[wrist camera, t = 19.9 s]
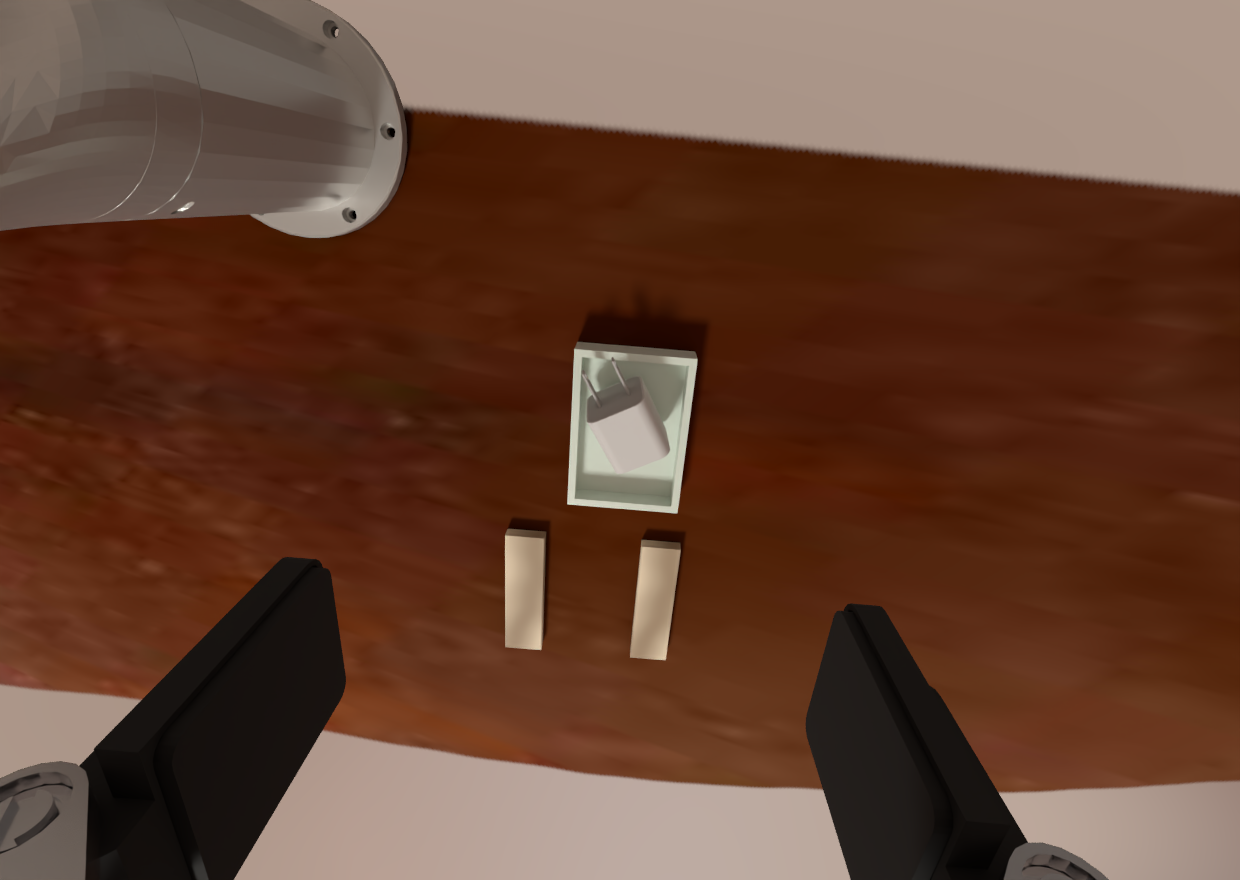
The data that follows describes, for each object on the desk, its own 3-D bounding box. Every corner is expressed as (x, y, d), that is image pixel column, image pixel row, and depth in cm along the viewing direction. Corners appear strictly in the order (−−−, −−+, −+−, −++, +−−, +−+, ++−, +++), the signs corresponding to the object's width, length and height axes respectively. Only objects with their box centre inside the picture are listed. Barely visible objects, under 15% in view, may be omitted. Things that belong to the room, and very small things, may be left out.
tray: (570, 491, 44) (567, 504, 42) (577, 341, 39) (574, 349, 38) (675, 499, 44) (677, 513, 42) (695, 351, 39) (697, 359, 38)
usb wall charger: (613, 444, 42) (615, 476, 38) (569, 364, 38) (567, 392, 35) (664, 423, 41) (671, 454, 38) (624, 340, 37) (628, 366, 34)
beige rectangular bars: (508, 638, 50) (505, 646, 49) (508, 528, 45) (505, 535, 44) (665, 651, 50) (665, 660, 49) (679, 542, 45) (680, 550, 44)
